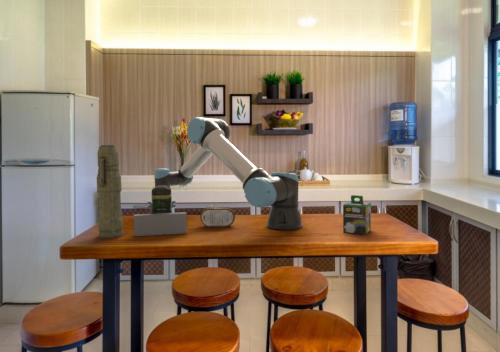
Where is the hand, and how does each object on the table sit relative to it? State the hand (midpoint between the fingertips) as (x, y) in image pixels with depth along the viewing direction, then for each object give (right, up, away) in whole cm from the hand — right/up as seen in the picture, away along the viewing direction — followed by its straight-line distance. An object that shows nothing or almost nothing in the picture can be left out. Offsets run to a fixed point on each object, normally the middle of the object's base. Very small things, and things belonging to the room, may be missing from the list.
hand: (160, 210), depth 151 cm
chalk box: (+81, -8, -7) cm, 82 cm away
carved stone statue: (-16, -9, -12) cm, 22 cm away
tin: (+24, -8, +4) cm, 25 cm away
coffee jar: (+2, -8, -4) cm, 9 cm away
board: (+3, -8, -10) cm, 13 cm away
